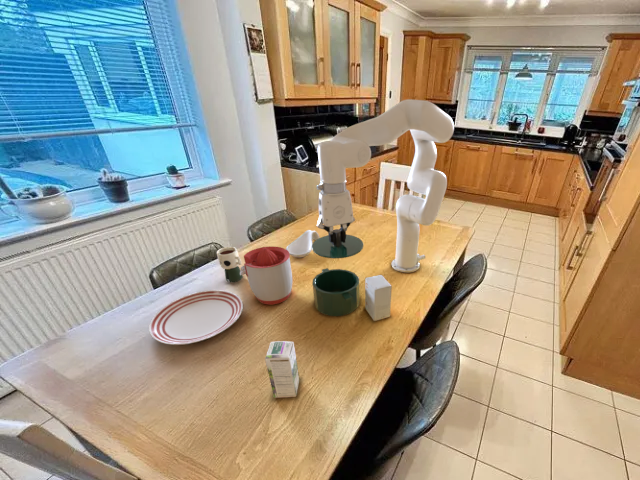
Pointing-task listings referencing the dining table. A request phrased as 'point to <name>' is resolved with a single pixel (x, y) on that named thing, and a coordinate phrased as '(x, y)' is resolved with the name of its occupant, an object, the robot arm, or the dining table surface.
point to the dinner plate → (195, 317)
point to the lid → (337, 246)
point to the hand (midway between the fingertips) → (337, 241)
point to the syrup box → (282, 369)
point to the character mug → (230, 263)
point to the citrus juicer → (268, 274)
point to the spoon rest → (302, 244)
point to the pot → (336, 292)
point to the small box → (377, 297)
